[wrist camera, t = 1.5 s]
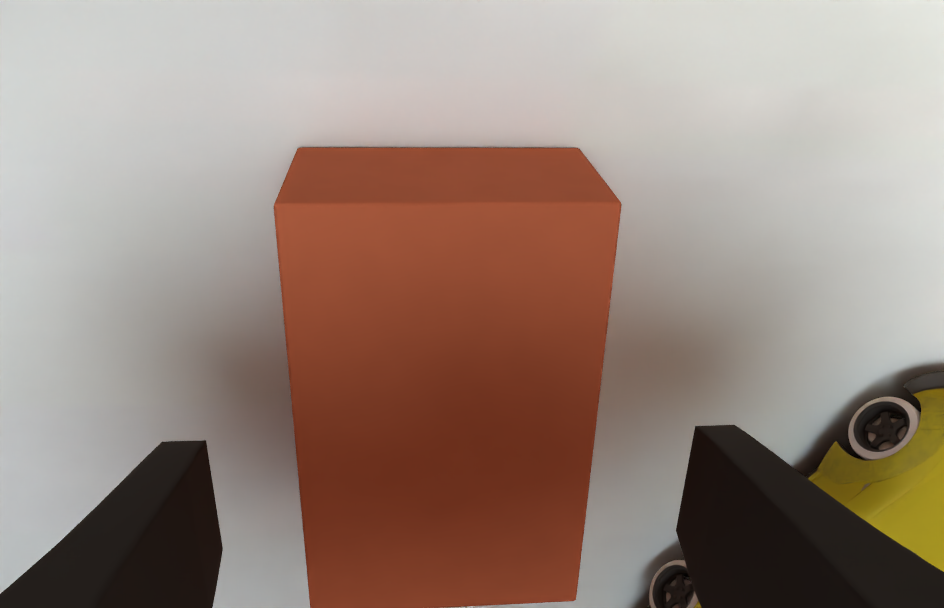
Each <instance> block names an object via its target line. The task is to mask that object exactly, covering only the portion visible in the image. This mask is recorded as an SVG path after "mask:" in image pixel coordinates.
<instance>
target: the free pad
mask: <svg viewBox="0 0 944 608" xmlns="http://www.w3.org/2000/svg"><path fill="white" fill-rule="evenodd" d="M620 212H621V202H620V201H619V199H618V198H617V197H616V195H615V194H614V193H613V192H612V190H611V189H610V188H609V186H608V185H607V184H606V183H605V181H604V180H603V179H602V177H601V176H600V175H599V174H598V172H597V171H596V170H595V168H594V167H593V166H592V164H591V163H590V162H589V161H588V159H587V158H586V157H585V155H584V154H583V153H582V152H581V150H580V149H578V148H298V149H297V151H296V154H295V156H294V158H293V161H292V163H291V165H290V168H289V170H288V173H287V175H286V177H285V180H284V182H283V185H282V187H281V189H280V192H279V194H278V197H277V199H276V201H275V204H274V216H275V227H276V238H277V249H278V260H279V271H280V281H281V292H282V303H283V314H284V325H285V336H286V347H287V358H288V369H289V380H290V391H291V401H292V412H293V423H294V434H295V445H296V456H297V467H298V478H299V489H300V500H301V511H302V521H303V532H304V543H305V554H306V565H307V576H308V587H309V598H310V608H443V607H463V606H483V605H503V604H523V603H543V602H563V601H574V600H576V595H577V586H578V578H579V569H580V560H581V551H582V543H583V534H584V525H585V517H586V508H587V499H588V491H589V482H590V473H591V465H592V456H593V447H594V438H595V430H596V421H597V412H598V404H599V395H600V386H601V378H602V369H603V360H604V352H605V343H606V334H607V325H608V317H609V308H610V299H611V291H612V282H613V273H614V265H615V256H616V247H617V238H618V230H619V221H620Z"/></svg>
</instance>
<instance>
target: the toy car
mask: <svg viewBox="0 0 944 608" xmlns="http://www.w3.org/2000/svg"><path fill="white" fill-rule="evenodd" d="M903 386H904V387H905V388H906V389H907V390H908V391H909V392H910V393H911V394H912V395H913V396H915V397H916V398H917V399H918V400H919V402H920V405H921V413H920V412H919V411H918V410H917V409H916V408H915V407H914V406H913V405H911V404H910V403H909V402H907V401H905V400H903V399H900V398H895V397H881V398H877V399H874V400H871V401H870V402H868V403H866V404H865V405H863V406H862V407H861V408H860V409H859V410H858V411H857V412H856V413H855V414H854V416H853V418H852V420H851V422H850V425H849V430H848V435H849V440H850V444H851V446H852V448H853V449H854V451H855V452H856V453H857V454H858V455H859V456H860V457H862V458H863V459H864V460H860V459H857V458H854V457H852V456H851V455H849V453H848V452H847V451H846V449H845V448H844V447H843V446H841V445H840V444H839V443H838V442H837V441H835V442H834V444H833V445H832V446H831V448H830V449H829V451H828V452H827V453H826V455H825V457H824V458H823V460H822V462H821V464H820V465H819V466H818V467H817V468H816V469H815V470H814V471H812V472H811V473H810V474H809V475H808V476H806V478H807V479H809V480H810V481H811V482H813V483H814V484H815V485H817V486H818V487H819V488H821V489H822V490H823V491H825V492H826V493H827V494H829V495H830V496H832V497H833V498H834V499H836V500H837V501H838V502H840V503H841V504H842V505H844V506H845V507H847V508H848V509H849V510H851V511H852V512H854V513H855V514H856V515H858V516H859V517H861V518H862V519H864V520H865V521H866V522H868V523H869V524H871V525H872V526H874V527H875V528H877V529H878V530H879V531H881V532H882V533H884V534H886V535H887V536H889V537H890V538H892V539H893V540H895V541H896V542H898V543H899V544H901V545H902V546H904V547H905V548H907V549H908V550H910V551H911V552H913V553H914V554H916V555H917V556H919V557H920V558H922V559H924V560H925V561H927V562H928V563H930V564H932V565H933V566H935V567H937V568H938V569H940V570H941V571H943V572H944V371H937V372H932V373H928V374H924V375H921V376H917V377H915V378H913V379H911V380H910V381H908V382H907V383H906V384H904V385H903ZM891 415H898V416H901V417H903V418H904V419H899V420H898V419H895V418H890V416H891ZM880 421H881V422H880ZM876 424H877V425H876ZM906 426H907V428H906ZM868 437H869V440H870V441H871V444H870V443H869V440H868ZM684 576H686V577H690V576H689V573H688V569H687V566H686V563H685V560H674V561H671V562H669V563H667V564H665V565H664V566H662V567H661V568H660V569H659V570H658V572H657V573H656V575H655V576H654V578H653V580H652V583H651V586H650V591H649V601H650V605H649V606H648V607H647V608H701V605H700V603H699V601H698V598H697V596H696V594H695V591H694V588H693V585H692V583H691V582H690V581H688V580H684Z"/></svg>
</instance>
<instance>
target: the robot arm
mask: <svg viewBox="0 0 944 608" xmlns="http://www.w3.org/2000/svg"><path fill="white" fill-rule="evenodd" d="M676 532H677V535H678V539H679V542H680V546H681V549H682V553H683V556H684V560H685V563H686V566H687V569H688V573H689V576H690V579H691V582H692V585H693V588H694V591H695V594H696V596H697V598H698V601H699V603H700V605H701V608H944V572H943V571H941V570H940V569H938V568H937V567H935V566H933V565H932V564H930V563H928V562H927V561H925V560H924V559H922V558H920V557H919V556H917V555H916V554H914V553H913V552H911V551H910V550H908V549H907V548H905V547H904V546H902V545H901V544H899V543H898V542H896V541H895V540H893V539H892V538H890V537H889V536H887V535H886V534H884V533H882V532H881V531H879V530H878V529H877V528H875V527H874V526H872V525H871V524H869V523H868V522H866V521H865V520H864V519H862V518H861V517H859V516H858V515H856V514H855V513H854V512H852V511H851V510H849V509H848V508H847V507H845V506H844V505H842V504H841V503H840V502H838V501H837V500H836V499H834V498H833V497H832V496H830V495H829V494H827V493H826V492H825V491H823V490H822V489H821V488H819V487H818V486H817V485H815V484H814V483H813V482H811V481H810V480H809V479H807V478H806V477H805V476H803V475H802V474H801V473H799V472H798V471H797V470H795V469H794V468H793V467H791V466H790V465H789V464H787V463H786V462H785V461H783V460H782V459H781V458H780V457H778V456H777V455H776V454H774V453H773V452H772V451H770V450H769V449H768V448H766V447H765V446H764V445H762V444H761V443H760V442H758V441H757V440H756V439H754V438H753V437H751V436H750V435H749V434H747V433H746V432H744V431H743V430H741V429H740V428H738V427H737V426H735V425H716V426H695V431H694V436H693V441H692V447H691V452H690V458H689V463H688V469H687V474H686V479H685V485H684V490H683V496H682V501H681V506H680V512H679V517H678V523H677V528H676ZM222 550H223V548H222V541H221V535H220V528H219V522H218V515H217V509H216V502H215V496H214V489H213V483H212V477H211V470H210V464H209V457H208V451H207V444H206V440H203V441H169V442H161V443H160V444H159V445H158V446H157V447H156V448H155V449H154V450H153V451H152V452H151V453H150V454H149V455H148V456H147V457H146V458H145V459H144V460H143V461H142V462H141V463H140V464H139V465H138V466H137V467H136V468H135V469H134V470H133V471H132V472H131V473H130V474H129V475H128V476H127V477H126V478H125V479H124V480H123V481H122V482H121V483H120V484H119V485H118V486H117V487H116V488H115V489H114V490H113V491H112V492H111V493H110V494H109V495H108V496H107V497H106V498H105V499H104V500H103V501H102V502H101V503H100V504H99V505H98V506H97V507H96V508H95V509H94V510H93V511H91V512H90V513H89V514H88V515H87V516H86V517H85V518H84V519H83V520H82V521H81V522H80V523H79V524H78V525H77V526H76V527H75V528H74V529H73V530H72V531H71V532H69V533H68V534H67V535H66V536H65V537H64V538H63V539H62V540H61V541H60V542H59V543H58V544H57V545H56V546H55V547H54V548H52V549H51V550H50V551H49V552H48V553H47V554H46V555H44V556H43V557H42V558H41V559H40V560H39V561H38V562H36V563H35V564H34V565H33V566H32V567H31V568H30V569H28V570H27V571H26V572H25V573H24V574H23V575H22V576H20V577H19V578H18V579H17V580H16V581H15V582H14V583H12V584H11V585H10V586H9V587H8V588H7V589H6V590H4V591H3V592H2V593H1V594H0V608H212V606H213V601H214V596H215V591H216V585H217V580H218V574H219V568H220V562H221V556H222Z"/></svg>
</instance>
